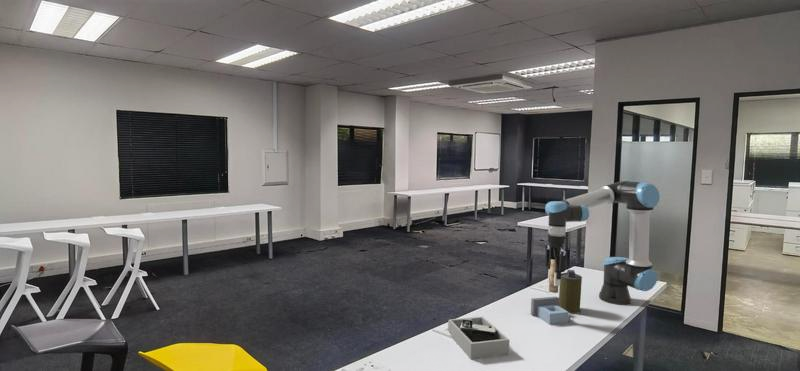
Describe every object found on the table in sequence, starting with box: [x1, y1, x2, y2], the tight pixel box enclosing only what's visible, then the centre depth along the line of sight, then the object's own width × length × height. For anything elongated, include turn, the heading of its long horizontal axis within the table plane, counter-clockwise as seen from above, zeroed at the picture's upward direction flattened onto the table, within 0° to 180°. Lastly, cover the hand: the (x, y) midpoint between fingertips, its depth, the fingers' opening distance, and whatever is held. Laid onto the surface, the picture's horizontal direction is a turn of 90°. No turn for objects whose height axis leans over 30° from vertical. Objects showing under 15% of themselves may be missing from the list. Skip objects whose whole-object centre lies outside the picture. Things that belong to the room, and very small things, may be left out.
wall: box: [530, 296, 559, 317], centre depth 200 cm, size 14×2×8 cm, turn 105°
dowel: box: [548, 259, 559, 294], centre depth 193 cm, size 4×4×15 cm
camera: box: [460, 317, 497, 342], centre depth 168 cm, size 15×8×10 cm, turn 71°
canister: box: [558, 269, 583, 315], centre depth 207 cm, size 11×10×20 cm
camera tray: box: [447, 316, 510, 360], centre depth 168 cm, size 16×23×6 cm
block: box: [536, 304, 570, 325], centre depth 194 cm, size 10×10×5 cm
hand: (553, 283), depth 193 cm, fingers closed on dowel, 4 cm apart
